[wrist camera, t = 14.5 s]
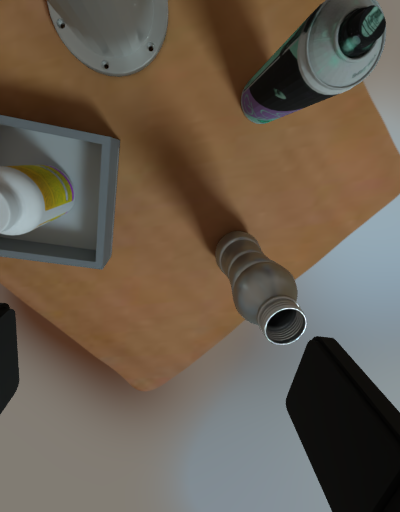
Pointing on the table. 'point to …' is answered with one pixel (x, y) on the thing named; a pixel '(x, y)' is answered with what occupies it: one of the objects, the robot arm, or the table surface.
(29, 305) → the table surface
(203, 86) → the table surface
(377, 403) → the robot arm
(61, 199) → the supplement bottle
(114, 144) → the box
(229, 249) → the plastic bottle
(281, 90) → the spray can
